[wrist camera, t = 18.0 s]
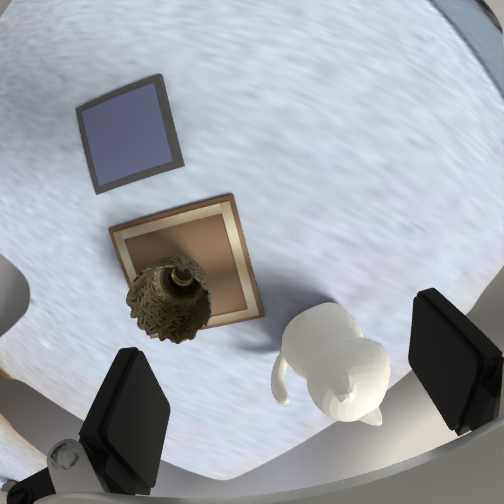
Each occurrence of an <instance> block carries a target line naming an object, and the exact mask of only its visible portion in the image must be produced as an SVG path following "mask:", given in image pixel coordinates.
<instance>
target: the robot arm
mask: <svg viewBox="0 0 504 504" xmlns="http://www.w3.org/2000/svg"><path fill="white" fill-rule="evenodd" d="M501 355H502V352H501V351H500V350H499V349H498V347H497V346H496V345H494V343H493V342H492V341H491V340H490V339H489V338H487V336H486V335H485V334H483V332H482V331H480V330H479V329H478V328H477V327H476V326H475V325H474V324H473V323H472V322H471V321H470V320H469V319H468V318H467V317H466V316H465V315H464V314H463V313H462V312H461V311H459V310H458V309H457V308H456V307H455V306H454V305H453V304H452V303H451V302H450V301H449V300H447V299H446V298H445V297H444V296H443V295H442V294H441V293H440V292H439V291H437V290H436V289H435V288H429V289H426V290H422V291H419V292H418V294H417V297H415V298H414V300H413V313H412V326H411V337H410V346H409V354H408V360H409V364H410V366H411V368H412V369H413V371H414V372H415V374H416V375H417V377H418V379H419V380H420V382H421V383H422V385H423V387H424V388H425V390H426V391H427V393H428V395H429V396H430V398H431V399H432V401H433V403H434V404H435V406H436V407H437V409H438V411H439V412H440V414H441V415H442V417H443V419H444V421H445V422H446V424H447V426H448V428H449V429H450V430H452V431H453V430H455V432H456V434H457V435H458V436H460V435H462V434H464V433H466V432H468V431H470V430H471V431H472V432H470V433H468V434H466V435H464V436H462V437H460V438H457V439H455V440H453V441H451V442H449V443H446V444H444V445H442V446H440V447H437V448H435V449H433V450H431V451H428V452H426V453H423V454H421V455H418V456H416V457H413V458H410V459H408V460H405V461H403V462H400V463H397V464H394V465H391V466H388V467H385V468H382V469H379V470H376V471H372V472H369V473H366V474H363V475H359V476H355V477H351V478H348V479H344V480H340V481H335V482H331V483H327V484H323V485H318V486H313V487H308V488H302V489H297V490H290V491H283V492H276V493H270V494H261V495H250V496H238V497H222V498H167V497H147V496H135V494H141V495H150V489H151V488H153V487H154V486H155V483H156V478H157V473H158V468H159V463H160V458H161V454H162V449H163V444H164V439H165V434H166V430H167V425H168V421H169V416H170V405H169V402H168V400H167V398H166V397H165V395H164V393H163V391H162V389H161V387H160V385H159V383H158V381H157V379H156V377H155V375H154V373H153V371H152V369H151V367H150V365H149V363H148V361H147V359H146V357H145V355H144V353H143V352H142V351H139V350H138V349H137V348H136V347H131V348H121V349H120V350H119V351H118V353H117V355H116V357H115V359H114V361H113V363H112V365H111V367H110V369H109V371H108V373H107V375H106V377H105V379H104V381H103V383H102V385H101V387H100V389H99V391H98V393H97V395H96V397H95V400H94V402H93V404H92V406H91V408H90V410H89V412H88V415H87V417H86V419H85V421H84V423H83V425H82V428H81V430H80V432H79V435H80V439H79V441H76V440H73V439H65V440H62V441H60V442H58V443H56V444H55V445H54V446H53V447H52V448H51V449H50V451H49V453H48V455H47V466H48V467H46V468H45V469H43V470H41V471H39V472H37V473H35V474H34V475H32V476H30V477H28V478H26V479H24V480H22V481H20V482H18V483H16V484H15V485H14V486H12V488H11V489H10V490H9V492H8V494H7V504H504V358H503V357H502V356H501Z"/></svg>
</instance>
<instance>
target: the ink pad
mask: <svg viewBox="0 0 504 504" xmlns="http://www.w3.org/2000/svg"><path fill="white" fill-rule="evenodd" d="M76 112H77V118H78V123H79V127H80V132H81V137H82V141H83V146H84V150H85V154H86V158H87V162H88V166H89V170H90V174H91V178H92V182H93V185H94V189H95V192H96V195H98V194H100V193H103V192H106V191H109V190H112V189H114V188H117V187H120V186H123V185H126V184H129V183H132V182H135V181H138V180H141V179H144V178H147V177H150V176H153V175H157V174H160V173H163V172H166V171H170V170H173V169H176V168H180V167H183V166H185V165H184V161H183V157H182V153H181V149H180V146H179V142H178V138H177V134H176V130H175V126H174V122H173V118H172V113H171V109H170V105H169V101H168V97H167V92H166V88H165V84H164V79H163V76H162V75H161V74H158V75H155V76H153V77H150V78H147V79H144V80H141V81H139V82H136V83H133V84H131V85H128V86H126V87H123V88H121V89H118V90H116V91H113V92H111V93H109V94H106V95H104V96H102V97H100V98H97V99H95V100H93V101H91V102H89V103H86V104H84V105H82V106H80V107H78V108H76Z"/></svg>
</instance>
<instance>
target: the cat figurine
mask: <svg viewBox="0 0 504 504" xmlns="http://www.w3.org/2000/svg"><path fill="white" fill-rule="evenodd" d="M281 350H282V351H281V352H280V353H279V355H278V357H277V359H276V361H275V363H274V366H273V370H272V375H271V389H272V393H273V396H274V398H275V399H276V400H277V401H278V403H280V404H282V405H286V404H288V403H289V400H290V398H289V395H288V393H287V391H286V388H285V385H284V375H285V370H286V367H287V364H289V365H290V366H291V367H292V369H293V370H294V371H295V372H296V373H297V374H298V375H299V376H301V377H303V378H305V379H306V380H307V386H308V391H309V393H310V396H311V398H312V400H313V401H314V403H315V404H316V406H317V407H318V408H319V409H320V410H321V411H322V412H323V413H324V414H326V415H327V416H329V417H331V418H333V419H335V420H339V421H345V422H349V421H355V420H361V421H363V422H365V423H368V424H372V425H381V424H382V415H381V412H380V409H379V406H378V405H379V404H380V403H381V401H382V400H383V398H384V395H385V393H386V389H387V386H388V382H389V377H390V359H389V355H388V353H387V351H386V349H385V348H384V346H383V345H382V344H380V343H378V342H376V341H373V340H371V339H368V338H364V337H363V335H362V332H361V329H360V327H359V325H358V323H357V321H356V320H355V318H354V317H353V316H352V315H351V314H350V313H349V311H348V310H346V309H345V308H344V307H342V306H340V305H338V304H336V303H329V302H327V303H322V304H319V305H316V306H314V307H312V308H310V309H307V310H305V311H304V312H302V313H300V314H299V315H297V316H296V317H295V318H293V319H292V320H291V321H290V322H289V324H288V325H287V326H286V328H285V330H284V332H283V336H282V348H281Z"/></svg>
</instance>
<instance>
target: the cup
mask: <svg viewBox="0 0 504 504" xmlns="http://www.w3.org/2000/svg"><path fill="white" fill-rule="evenodd" d="M177 269H179V270H182V271H188V273H189V274H190V278H189V279H188V280H180V279H179V278H178V277H177V275H176V270H177ZM129 288H130V290H129V292H128V294H127V298H126V303H127V305H128V306H130V307H131V308H132V311H131V314H130V315H131V318H137V316H138V320H137V325H138V327H139V328H140V329H142V330H145V331H146V334H147V335H155V334H157V333H158V337H159V339H160V341H164V340H165V339H166V338H167V339H170V340H171V342H174V343H176V344H180V343H182V342H183V341H186V340H187V339H189V340H192V339H194V338H195V336H196V333H197V331H198V330H199V329H202V327H203V326H204V325H205V327H206V326H207V324H208V320H209V319H210V318H211V292H210V284H209V280H208V277H207V275H206V273H205V271H204V270H203V268H202V267H201V266H200V265H199V264H198V263H197V262H196V261H194V260H192V259H191V258H188V257H186V256H182V255H170V256H165V257H163V258H160V259H158V260H157V261H155V262H154V263H152V264H151V265H149V266H148V267H147V268H145V269H144V270H142V272H141V273H139V274H138V276H137V277H136V278H135V279H134V280H133V281H132V282H131V283H130V285H129Z"/></svg>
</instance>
